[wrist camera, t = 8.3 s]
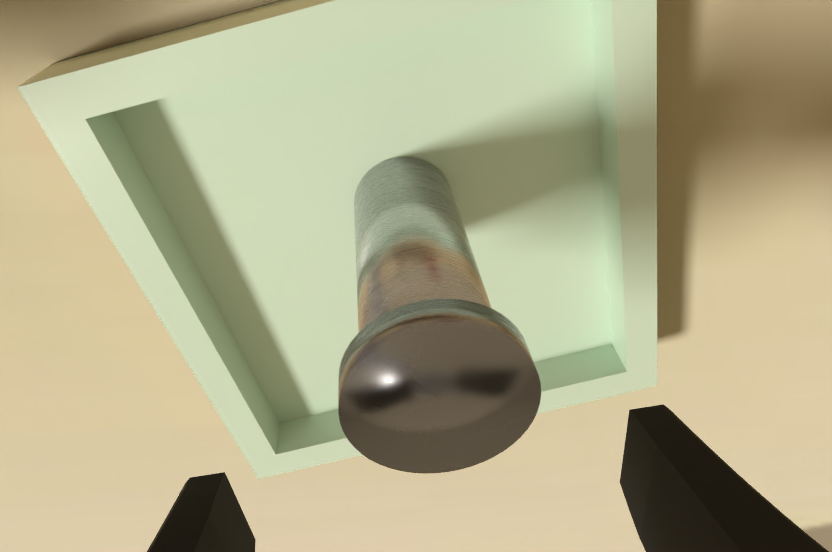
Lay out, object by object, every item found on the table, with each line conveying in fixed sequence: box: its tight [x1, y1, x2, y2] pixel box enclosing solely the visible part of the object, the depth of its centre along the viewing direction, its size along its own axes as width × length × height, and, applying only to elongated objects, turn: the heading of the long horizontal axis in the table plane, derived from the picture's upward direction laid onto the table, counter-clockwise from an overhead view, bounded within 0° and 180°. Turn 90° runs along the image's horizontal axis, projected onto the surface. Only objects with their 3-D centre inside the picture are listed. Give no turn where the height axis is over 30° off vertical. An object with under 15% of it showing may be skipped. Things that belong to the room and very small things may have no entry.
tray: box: [17, 0, 657, 479], centre depth 17 cm, size 14×14×2 cm
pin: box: [338, 157, 541, 473], centre depth 14 cm, size 4×4×8 cm
